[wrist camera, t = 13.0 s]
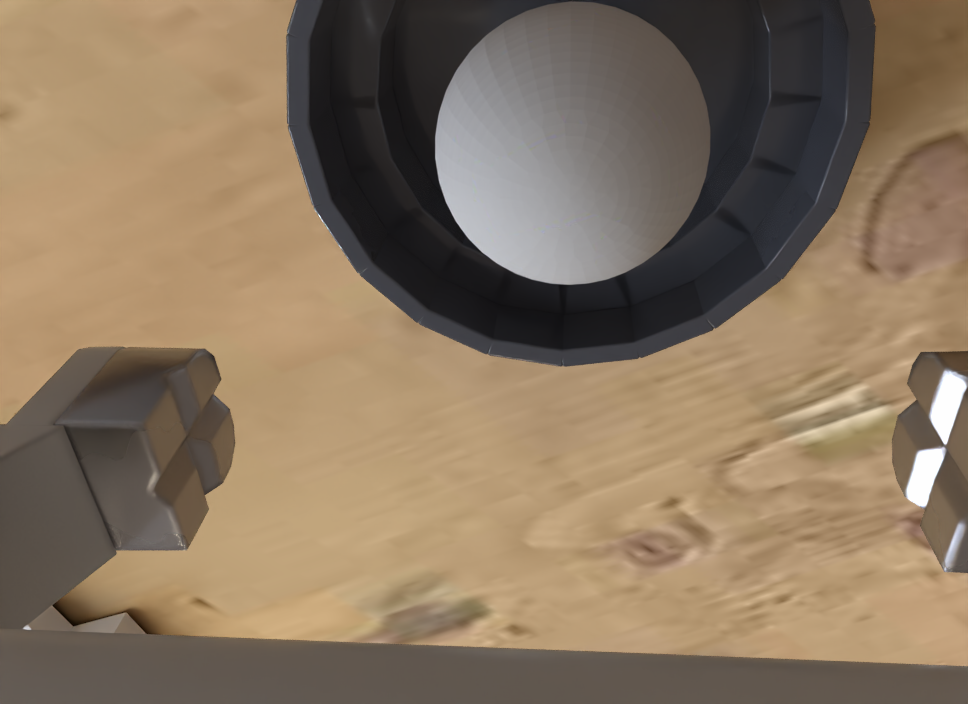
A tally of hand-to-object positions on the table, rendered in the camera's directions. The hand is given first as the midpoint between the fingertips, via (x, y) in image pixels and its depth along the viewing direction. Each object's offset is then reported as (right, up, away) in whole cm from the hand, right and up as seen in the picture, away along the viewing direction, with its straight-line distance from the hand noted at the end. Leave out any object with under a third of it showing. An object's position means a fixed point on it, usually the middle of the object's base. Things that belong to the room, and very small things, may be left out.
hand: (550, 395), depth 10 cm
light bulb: (+2, +9, +14) cm, 17 cm away
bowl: (+2, +9, +14) cm, 17 cm away
